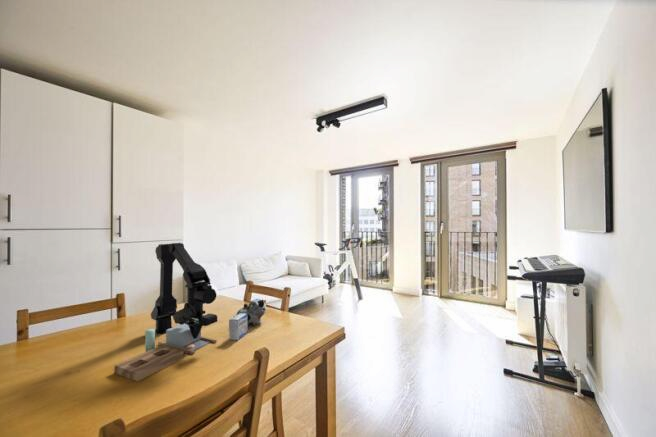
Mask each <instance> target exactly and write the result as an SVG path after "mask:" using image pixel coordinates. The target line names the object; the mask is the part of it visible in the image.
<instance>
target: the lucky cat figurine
mask: <svg viewBox="0 0 656 437" xmlns="http://www.w3.org/2000/svg"><path fill="white" fill-rule="evenodd" d="M266 311H267V299H261V298H254V299H252V300H251V301H250V303H249V304H247V303H246V302H245V303H244V304H243V307H242V308H240V309H239V310H238V311H237V312H236V315H237V314H240V313H242V314H247V326H251V327H255V326H256V325H258V324H260V323H261V319H262V317H263V316H264V314H266ZM236 315H235V316H236Z"/></svg>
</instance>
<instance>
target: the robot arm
mask: <svg viewBox="0 0 656 437" xmlns="http://www.w3.org/2000/svg"><path fill="white" fill-rule="evenodd" d="M155 254H156V259H157V261H158V262H159V264H160V271H159V272H160V274H159V277H160V278H159V296H158V298H157V299H156V300H155V304H154V306H153V309H152V311H151V313H150V319H151V320H154V321H155V328H154V329H155V334H156V333H157V334H160V335H162V334H164V333H166V330H167V329H170V328H173V327H174V326H172V323H173V322H172V320H173V321H174V324H176V325H183V324H186V325H188V326H189V328H190V331H191V334H192V336H193V338H194V339H196V338H197V336H198V334H199V332H200V330H201V331H202V329H203V327H207V326H210V325H212V324H215V323H217V322H218V315H217V314H215V313H207V314H206V310H204V304H206V305H210V304H212V303H213V302H215V301H216V298H217V291H216V290H215V289H213V288H212V286H213V285H211V284H212V283H211V279H210V277H209V275H208V273H207V270H206V269H205V268H204V267H203V266H202V265H201V264H200V263H197V262H195V261H194V260H193V258H192V257H191V255H190V254H189V253H188V251H187V249H186V248H185V245H184V243H183V242H172V243H164V244H163V243H160V244H158V246H156V248H155ZM175 261H177V262H178V265H179V266H180V267H181V269H182V272H183V273H182V276H183V279H184V281H185V283H186V284H185V288H186V289H187V295H186V298H187V302H184V304H183V305H184V306H183V308H181V309H179V310H177V309H178V305H177V302H178V299H176V298H175V297H174V295H173V281H174V280H173V277H174V276H173V275H174V274H173V273H174V271H173V270H174V262H175ZM172 318H173V319H172Z"/></svg>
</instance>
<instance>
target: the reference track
mask: <svg viewBox="0 0 656 437" xmlns="http://www.w3.org/2000/svg"><path fill="white" fill-rule="evenodd" d="M210 343H214V344H216V343H217V339H215V338H210V337H206V336H202V335H201V339H199V340H197V341H195V342H193V343H191V344H189V345H186V346H184V347H178V346H175V345H171V344H167V343H166V342H162V341H158V342H157V346H161V345H163V346H166V347H170V348H173V349H177V350H181V351H183V353H186V354H190V355H195V354H196V351H198V350H199V349H201V348H203V347H205V346H207V345H209V344H210Z"/></svg>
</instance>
